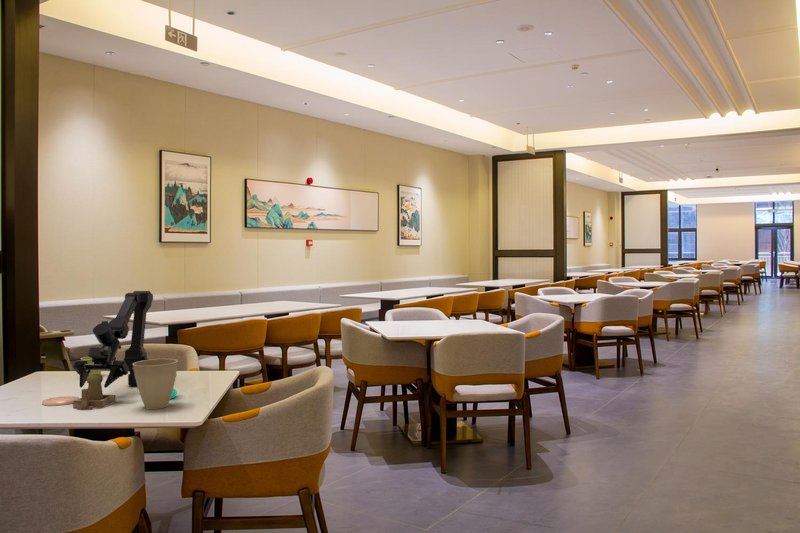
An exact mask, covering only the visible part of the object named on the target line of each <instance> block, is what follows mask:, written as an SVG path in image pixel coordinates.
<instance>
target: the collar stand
mask: <svg viewBox="0 0 800 533" xmlns="http://www.w3.org/2000/svg"><path fill="white" fill-rule="evenodd" d="M116 402H117V395H116V394H103V399H102V400H89V389H88V388H82V389H81V397H79V399H77V400H75V401H73V403H72V406H73V407H72V408H73V409H76V410H77V411H79V410H80V411H82V410H83V411H85V410H86V411H92V410H94V409H103V408H106V407H107V406H110V405H112V404H115V403H116Z"/></svg>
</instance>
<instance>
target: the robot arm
mask: <svg viewBox="0 0 800 533" xmlns="http://www.w3.org/2000/svg"><path fill="white" fill-rule="evenodd" d="M153 301H154V295H153V293H151V291H150V290H133V292H126V293H125V294H124V300H123V302H122V304H121V306H120V308H119V310H118V313H117V314H116V316H115V318H113V319H112V320H110V321H108V320H107V321H105V320H102V321H101V323H98V324H97V325H96V326H95V327H92V333H93V335H94V336H95V338H96V339H97V341H98V343H100V344H101V347H89V349H88V353H87V357H91V358H92V362H94V364H88V363H87V361H86V360H81V359H80V360H78V359H77V360H75V361H74V362H73V364H72V367H73V369H74V370H75V372H76V373H77V375H79V388H82V389H83V387H84V385H85V384H86V383H87V377H88V376H89V373H90V371H91V370H101V371H109V373H108V375H107V377H106V380H105V382H104V385H103V387H104V388H105V389H106V388H108V387H109V386H110V385H111V384H113V383H114V382H115V381H116V380H118V379H120V378H122V377H123V376H127V385H128V386H129V388H135V387H137V383H136V379H135V375H134V369H133V363H135V362H139V361H144V360H149V359H148V357H147V356H148V353H147V351H146V349H145V347H144V343H145V342H144V341H145V331H146V323H147V322H146V320H147V313H148V311H149V310H150V308H152V303H153ZM132 315H133V318H132V319H133V320H132V329H131V341H130V346H129V348H127V349H125V350H124V358H123V360H120V359H119V360H116V359H117V358H116V355H117V353H118V350H121V349H122V345H121V341H120V340H121V339H122V340H123V339H126V338H127V336H128V334H129V330H130V327H129V322H130V320H131V317H132Z"/></svg>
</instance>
